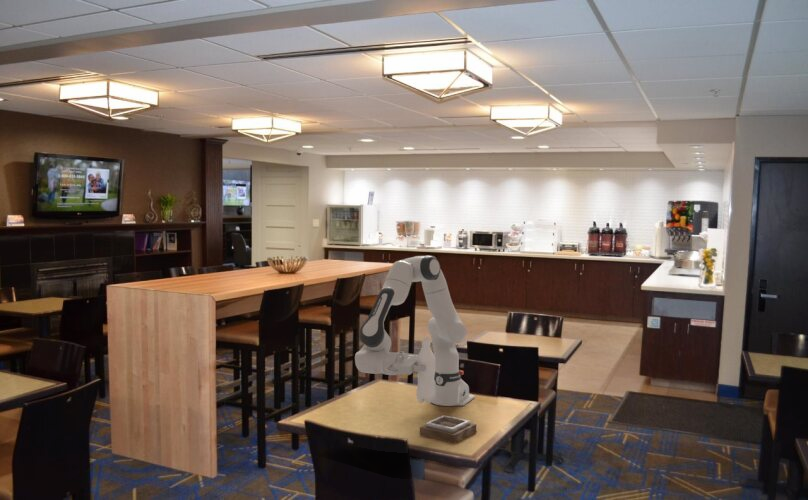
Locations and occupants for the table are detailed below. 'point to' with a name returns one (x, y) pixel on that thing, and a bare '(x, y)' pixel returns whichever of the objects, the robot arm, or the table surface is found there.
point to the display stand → (448, 428)
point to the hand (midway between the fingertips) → (428, 365)
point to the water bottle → (426, 373)
